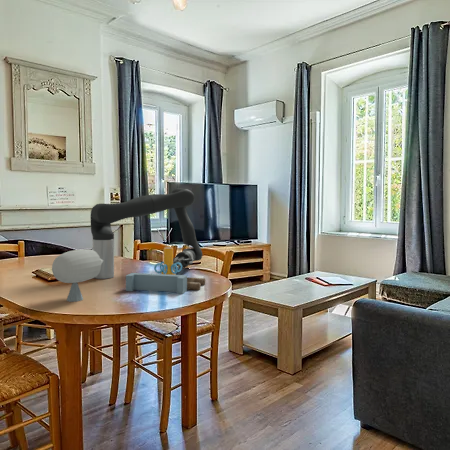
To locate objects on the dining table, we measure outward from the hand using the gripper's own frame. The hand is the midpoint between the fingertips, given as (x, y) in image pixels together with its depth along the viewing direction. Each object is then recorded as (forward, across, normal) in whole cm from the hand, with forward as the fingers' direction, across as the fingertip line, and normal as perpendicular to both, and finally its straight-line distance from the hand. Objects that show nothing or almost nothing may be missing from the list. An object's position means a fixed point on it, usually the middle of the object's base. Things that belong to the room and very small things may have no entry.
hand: (174, 264), depth 182 cm
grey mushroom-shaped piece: (+42, -22, +7) cm, 48 cm away
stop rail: (+25, 0, +7) cm, 26 cm away
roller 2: (+20, +12, +7) cm, 24 cm away
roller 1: (+11, +12, +4) cm, 17 cm away
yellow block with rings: (+10, 0, +7) cm, 12 cm away
